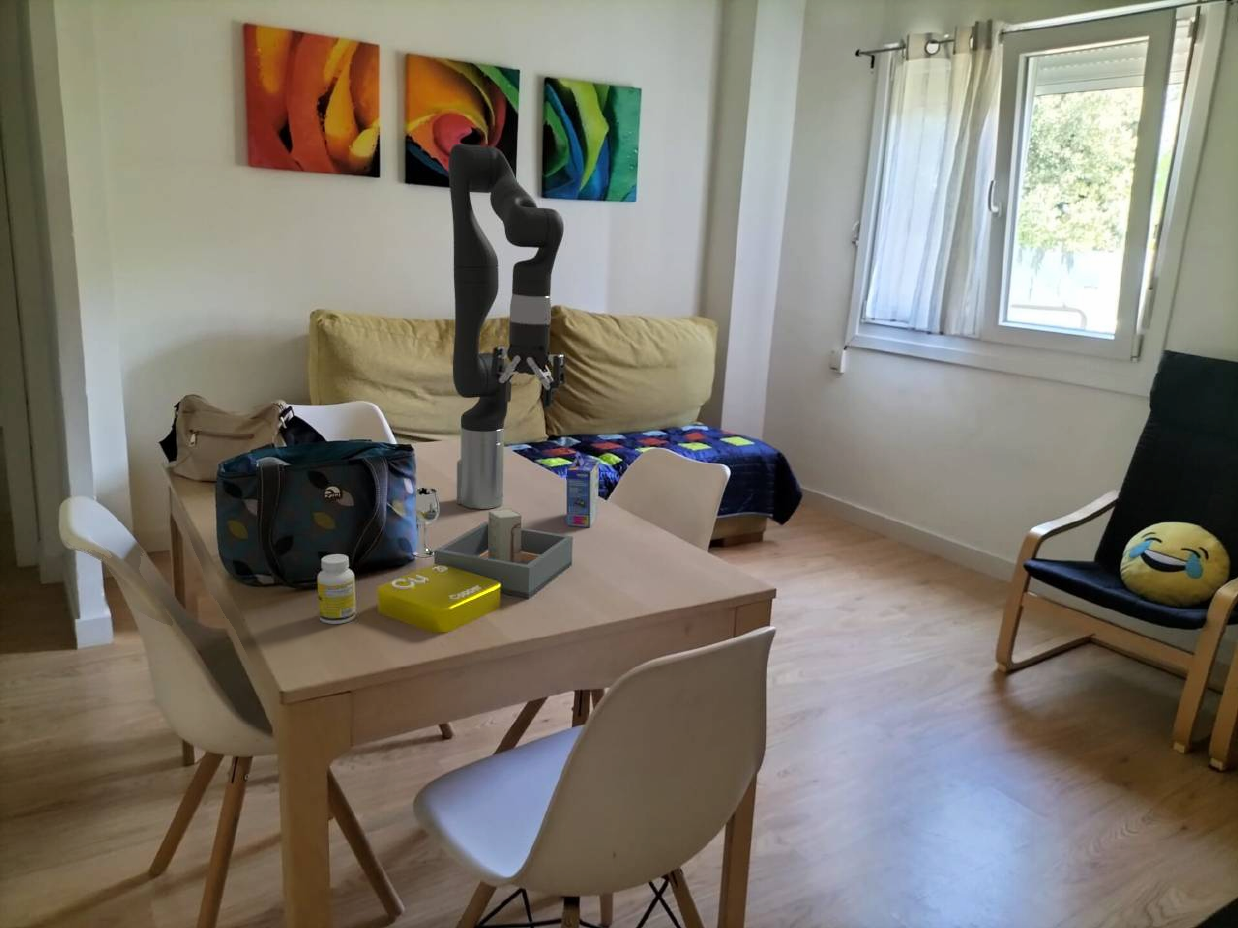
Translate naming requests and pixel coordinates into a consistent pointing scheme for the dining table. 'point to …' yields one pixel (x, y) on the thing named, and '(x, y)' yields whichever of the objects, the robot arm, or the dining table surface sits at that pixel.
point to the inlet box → (537, 568)
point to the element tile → (439, 598)
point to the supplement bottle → (336, 590)
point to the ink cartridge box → (582, 492)
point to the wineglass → (426, 514)
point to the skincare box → (504, 535)
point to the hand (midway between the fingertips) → (526, 405)
